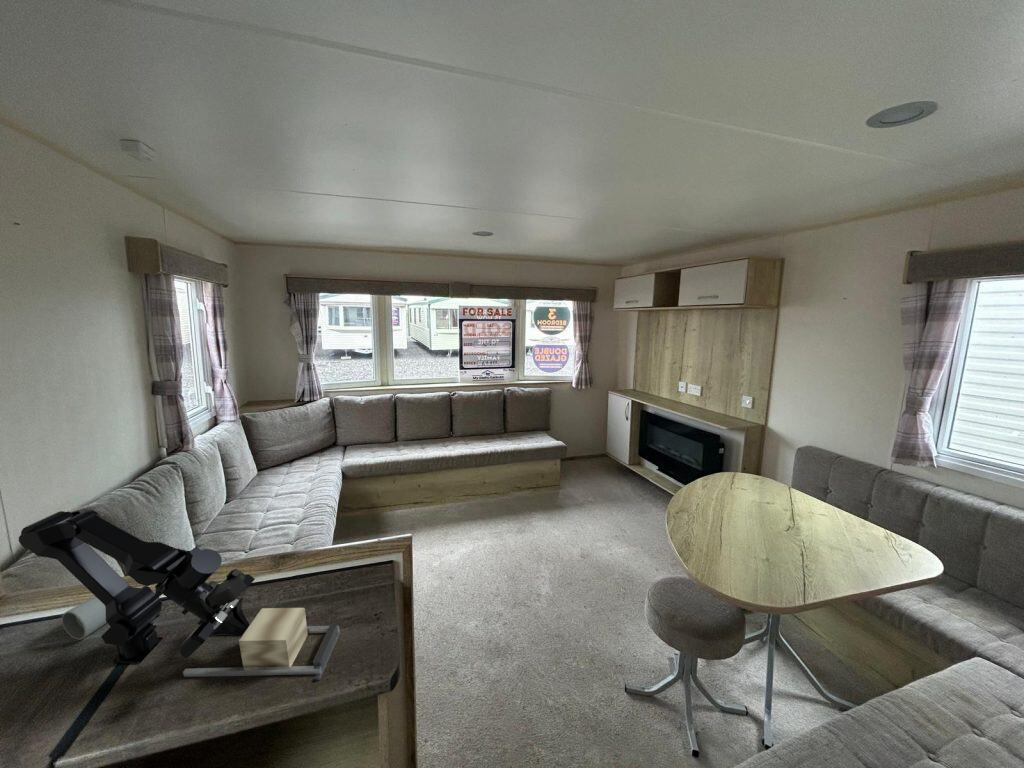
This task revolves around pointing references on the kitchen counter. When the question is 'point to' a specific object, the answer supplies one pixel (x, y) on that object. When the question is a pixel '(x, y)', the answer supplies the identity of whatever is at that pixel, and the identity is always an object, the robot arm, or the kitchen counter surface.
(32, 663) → the kitchen counter surface
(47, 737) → the kitchen counter surface
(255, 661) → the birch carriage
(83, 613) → the grey hollow cylinder
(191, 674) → the graphite track
